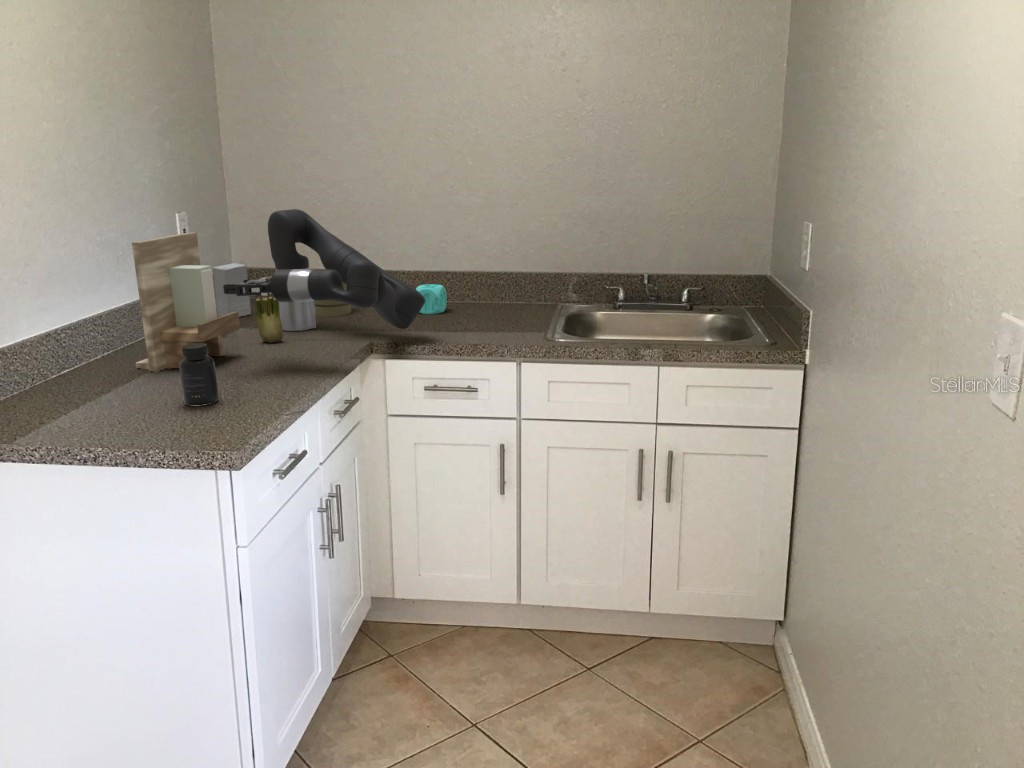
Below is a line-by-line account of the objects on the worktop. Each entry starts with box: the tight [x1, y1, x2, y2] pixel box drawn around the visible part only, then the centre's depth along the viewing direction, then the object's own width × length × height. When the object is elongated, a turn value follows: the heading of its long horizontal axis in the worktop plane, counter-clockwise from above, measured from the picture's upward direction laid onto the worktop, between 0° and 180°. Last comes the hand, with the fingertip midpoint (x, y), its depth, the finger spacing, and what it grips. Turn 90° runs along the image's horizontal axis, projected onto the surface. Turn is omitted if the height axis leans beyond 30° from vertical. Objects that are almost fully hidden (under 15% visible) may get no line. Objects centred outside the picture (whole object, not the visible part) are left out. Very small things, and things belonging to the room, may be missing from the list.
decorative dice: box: [415, 283, 448, 315], centre depth 262 cm, size 8×8×8 cm
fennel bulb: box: [255, 296, 284, 344], centre depth 225 cm, size 6×5×12 cm
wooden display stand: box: [131, 231, 241, 373], centre depth 203 cm, size 18×22×30 cm
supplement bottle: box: [178, 343, 220, 405], centre depth 172 cm, size 7×7×12 cm
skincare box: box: [211, 262, 252, 318], centre depth 259 cm, size 8×7×16 cm
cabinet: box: [169, 264, 218, 327], centre depth 203 cm, size 8×5×14 cm, turn 76°
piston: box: [314, 282, 352, 317], centre depth 263 cm, size 11×12×11 cm
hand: (234, 286), depth 199 cm, fingers open, 8 cm apart
